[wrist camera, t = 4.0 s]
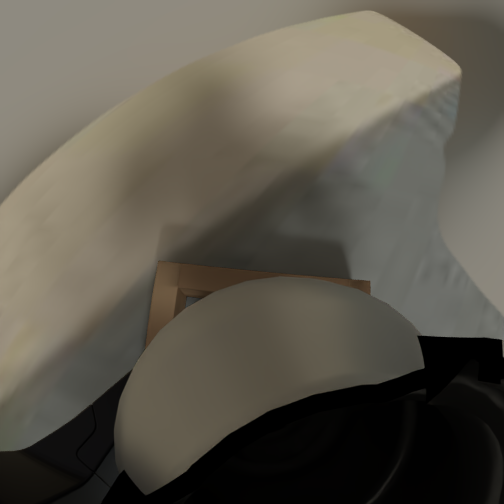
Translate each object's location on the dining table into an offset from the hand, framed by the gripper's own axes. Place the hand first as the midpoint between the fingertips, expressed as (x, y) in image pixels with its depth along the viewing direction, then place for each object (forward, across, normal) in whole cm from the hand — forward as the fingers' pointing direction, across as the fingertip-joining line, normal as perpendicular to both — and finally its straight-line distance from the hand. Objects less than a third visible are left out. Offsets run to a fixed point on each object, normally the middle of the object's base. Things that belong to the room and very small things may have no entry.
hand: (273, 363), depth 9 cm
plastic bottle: (+7, 0, +9) cm, 11 cm away
